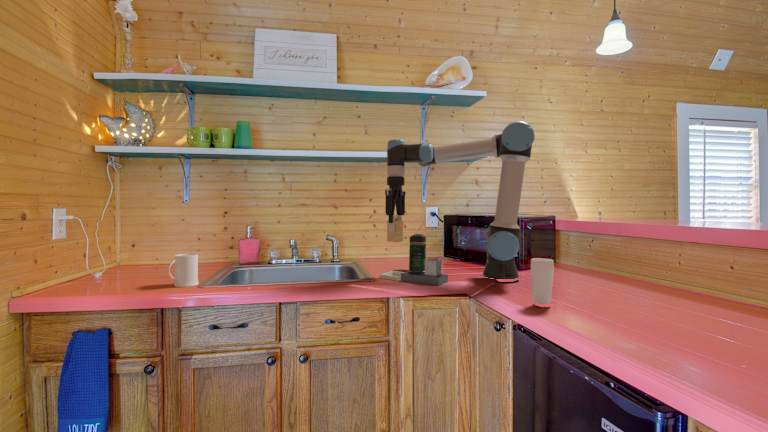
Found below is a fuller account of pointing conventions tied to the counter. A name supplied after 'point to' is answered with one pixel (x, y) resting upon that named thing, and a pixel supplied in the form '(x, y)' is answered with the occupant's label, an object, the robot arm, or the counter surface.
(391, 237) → the tan rectangular block
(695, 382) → the counter surface
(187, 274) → the mug
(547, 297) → the drinking glass
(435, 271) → the steel plug
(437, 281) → the dark grey flat block
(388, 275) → the tray
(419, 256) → the coffee jar
